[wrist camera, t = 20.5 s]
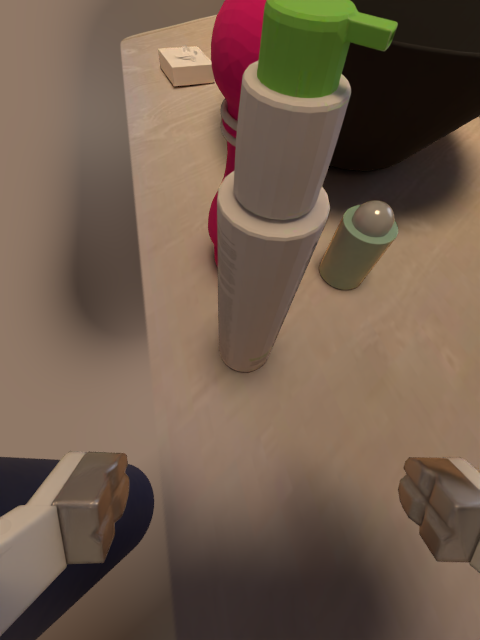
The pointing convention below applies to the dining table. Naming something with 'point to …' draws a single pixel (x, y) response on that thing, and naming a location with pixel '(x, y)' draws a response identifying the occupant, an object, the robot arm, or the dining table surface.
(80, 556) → the robot arm
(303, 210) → the bottle
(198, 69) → the box
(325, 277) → the salt shaker
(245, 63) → the pepper mill
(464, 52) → the bowl
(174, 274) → the dining table surface
